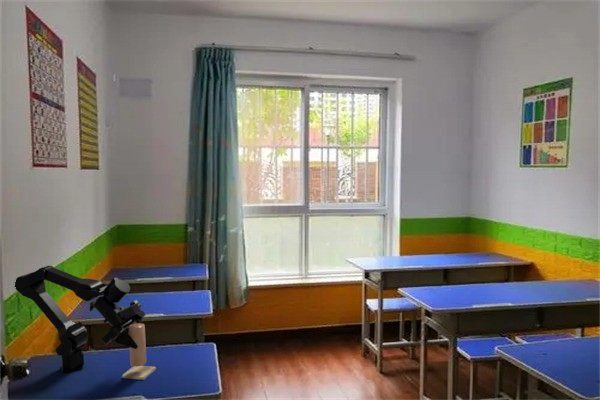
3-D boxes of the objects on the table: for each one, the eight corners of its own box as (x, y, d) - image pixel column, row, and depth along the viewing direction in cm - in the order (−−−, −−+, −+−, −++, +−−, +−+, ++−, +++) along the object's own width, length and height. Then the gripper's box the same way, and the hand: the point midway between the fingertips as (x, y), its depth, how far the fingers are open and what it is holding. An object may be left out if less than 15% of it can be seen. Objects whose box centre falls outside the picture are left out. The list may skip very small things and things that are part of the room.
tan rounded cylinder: (131, 367, 159) (129, 330, 157) (129, 361, 163) (127, 325, 162) (147, 364, 161) (145, 327, 160) (144, 358, 166) (143, 322, 164)
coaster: (122, 377, 159) (121, 375, 159) (135, 367, 167) (134, 364, 167) (143, 379, 158) (143, 377, 158) (155, 369, 166) (155, 366, 166)
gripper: (108, 304, 152) (141, 340, 150) (139, 288, 170) (169, 320, 169) (87, 326, 154) (120, 362, 153) (120, 308, 172) (149, 339, 171)
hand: (141, 344), depth 161 cm, fingers closed on tan rounded cylinder, 5 cm apart
